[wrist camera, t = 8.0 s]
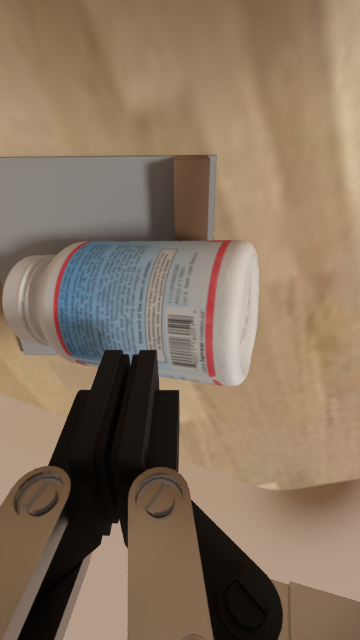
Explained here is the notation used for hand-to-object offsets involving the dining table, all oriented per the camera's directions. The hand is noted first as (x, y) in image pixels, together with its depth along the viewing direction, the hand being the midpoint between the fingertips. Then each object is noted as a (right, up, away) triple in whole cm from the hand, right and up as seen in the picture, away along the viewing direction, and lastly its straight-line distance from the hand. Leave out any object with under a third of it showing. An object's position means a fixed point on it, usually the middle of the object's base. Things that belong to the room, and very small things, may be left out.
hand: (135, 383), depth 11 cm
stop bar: (+2, +5, +8) cm, 10 cm away
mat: (-3, +5, +8) cm, 10 cm away
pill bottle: (+5, +2, +3) cm, 6 cm away
